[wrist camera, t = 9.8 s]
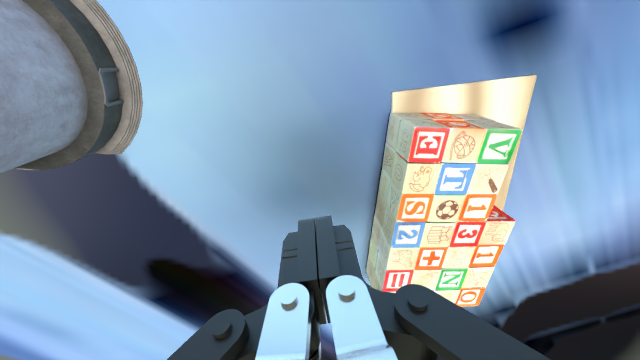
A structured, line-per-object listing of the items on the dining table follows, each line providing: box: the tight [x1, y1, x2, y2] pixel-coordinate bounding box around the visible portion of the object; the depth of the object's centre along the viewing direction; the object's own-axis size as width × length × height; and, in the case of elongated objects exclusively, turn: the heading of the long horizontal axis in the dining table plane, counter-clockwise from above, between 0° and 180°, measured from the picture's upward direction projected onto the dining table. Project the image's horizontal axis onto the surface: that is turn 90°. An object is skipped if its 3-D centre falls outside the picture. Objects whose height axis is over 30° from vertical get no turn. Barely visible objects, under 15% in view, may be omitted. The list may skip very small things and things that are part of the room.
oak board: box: [391, 75, 537, 211], centre depth 30 cm, size 14×26×1 cm, turn 6°
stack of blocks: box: [366, 113, 522, 306], centre depth 27 cm, size 21×6×12 cm
